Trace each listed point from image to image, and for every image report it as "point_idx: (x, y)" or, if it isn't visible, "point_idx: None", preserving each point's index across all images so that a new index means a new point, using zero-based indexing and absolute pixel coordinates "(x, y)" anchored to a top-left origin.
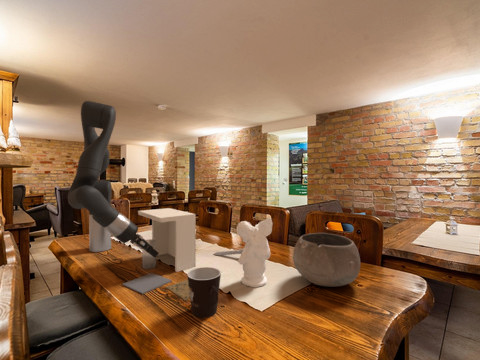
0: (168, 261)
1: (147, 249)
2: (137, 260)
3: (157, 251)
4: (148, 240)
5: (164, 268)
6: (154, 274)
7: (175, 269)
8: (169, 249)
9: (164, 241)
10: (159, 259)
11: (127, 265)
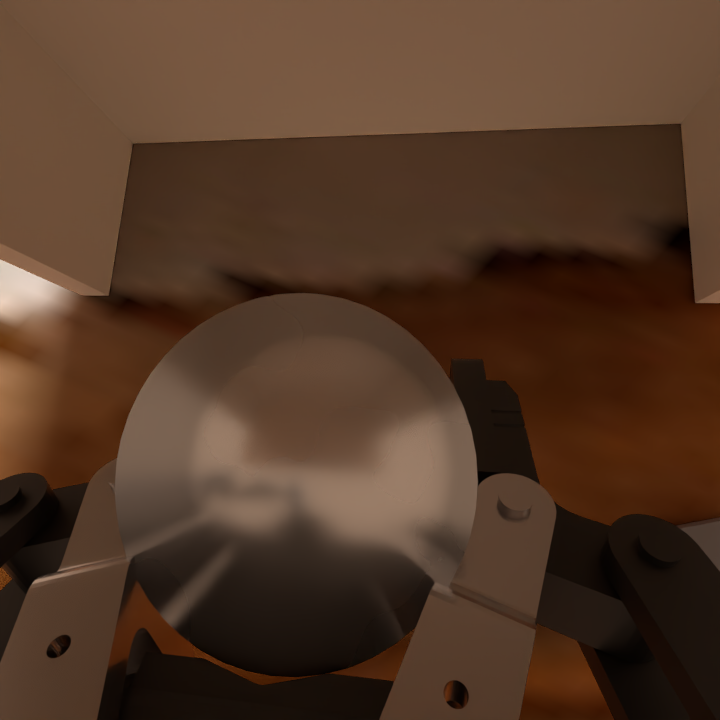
0: (362, 235)
1: (638, 657)
2: (95, 472)
3: (83, 229)
4: (219, 459)
5: (539, 355)
6: (697, 537)
7: (717, 296)
8: (137, 104)
9: (5, 67)
10: (236, 281)
11: None
